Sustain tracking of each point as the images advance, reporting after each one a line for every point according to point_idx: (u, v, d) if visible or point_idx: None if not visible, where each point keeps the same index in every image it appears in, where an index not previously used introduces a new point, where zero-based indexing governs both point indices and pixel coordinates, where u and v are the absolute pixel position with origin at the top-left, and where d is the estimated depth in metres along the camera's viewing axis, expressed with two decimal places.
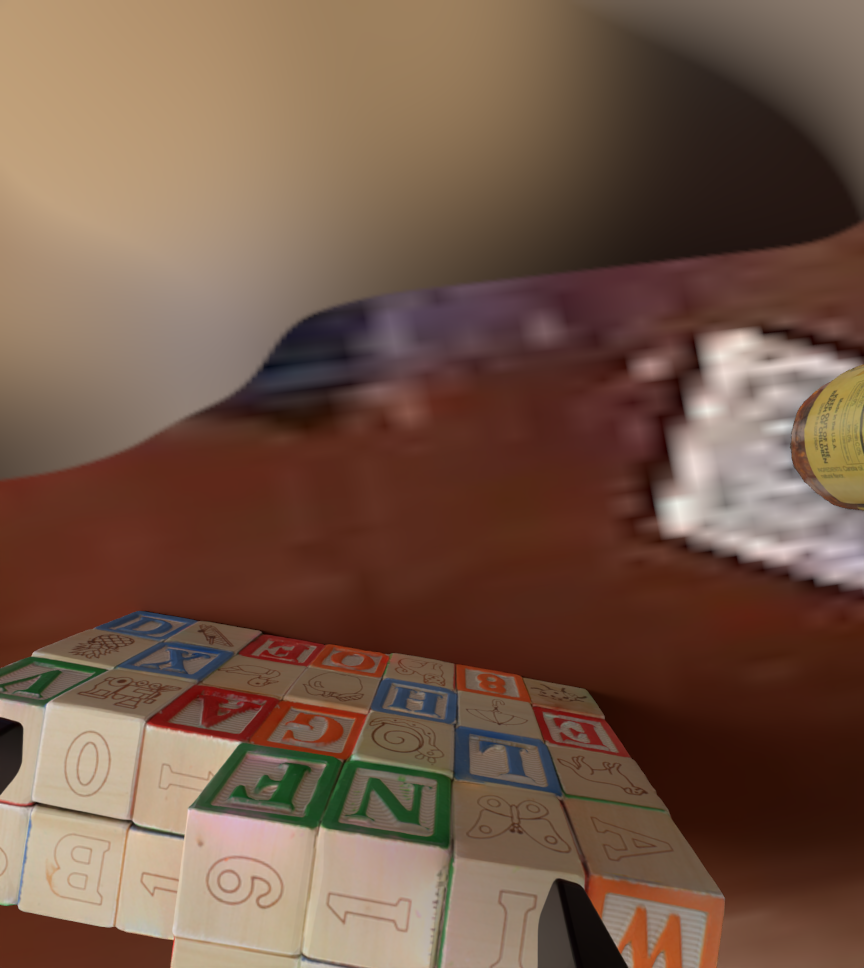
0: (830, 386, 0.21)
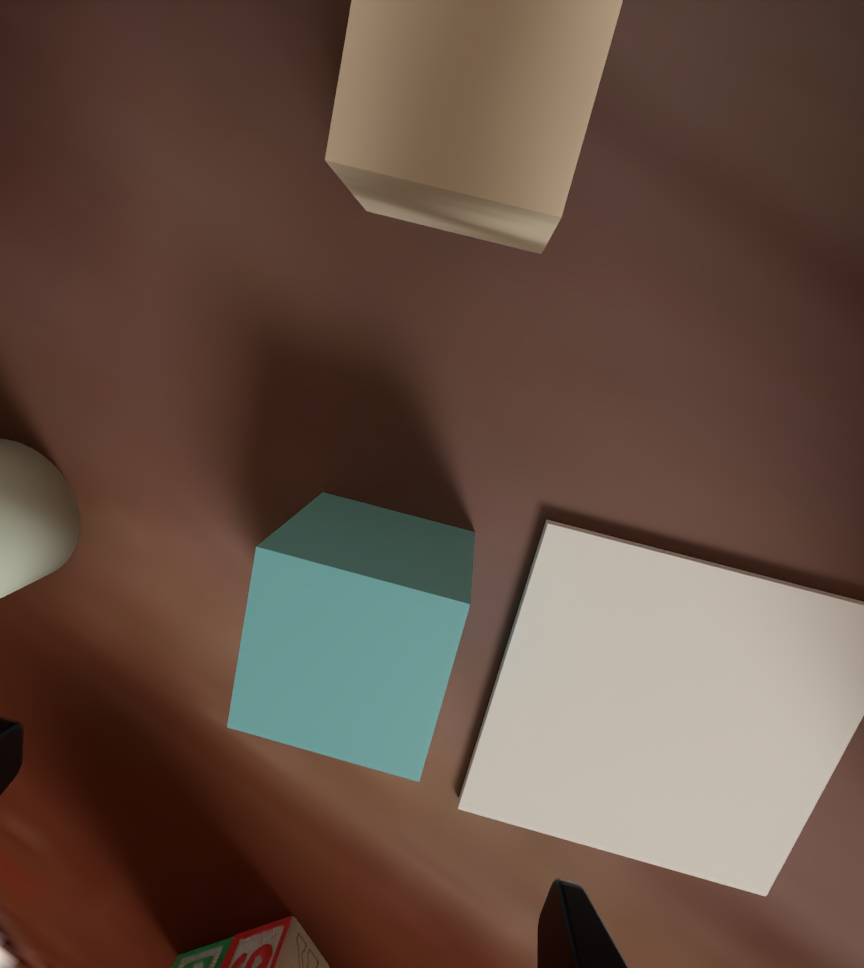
0: None
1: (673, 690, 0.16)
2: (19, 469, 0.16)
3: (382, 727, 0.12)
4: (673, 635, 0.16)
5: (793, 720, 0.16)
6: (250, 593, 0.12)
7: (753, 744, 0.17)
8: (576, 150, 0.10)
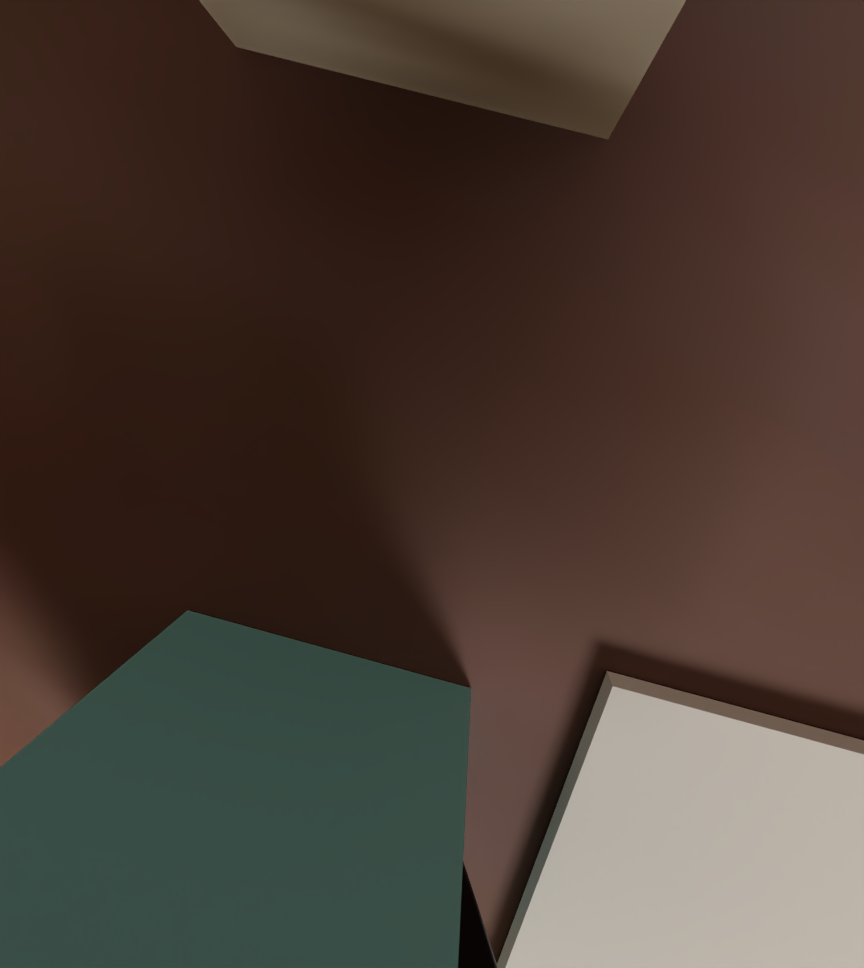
0: None
1: None
2: None
3: None
4: (850, 892, 0.08)
5: None
6: None
7: None
8: None
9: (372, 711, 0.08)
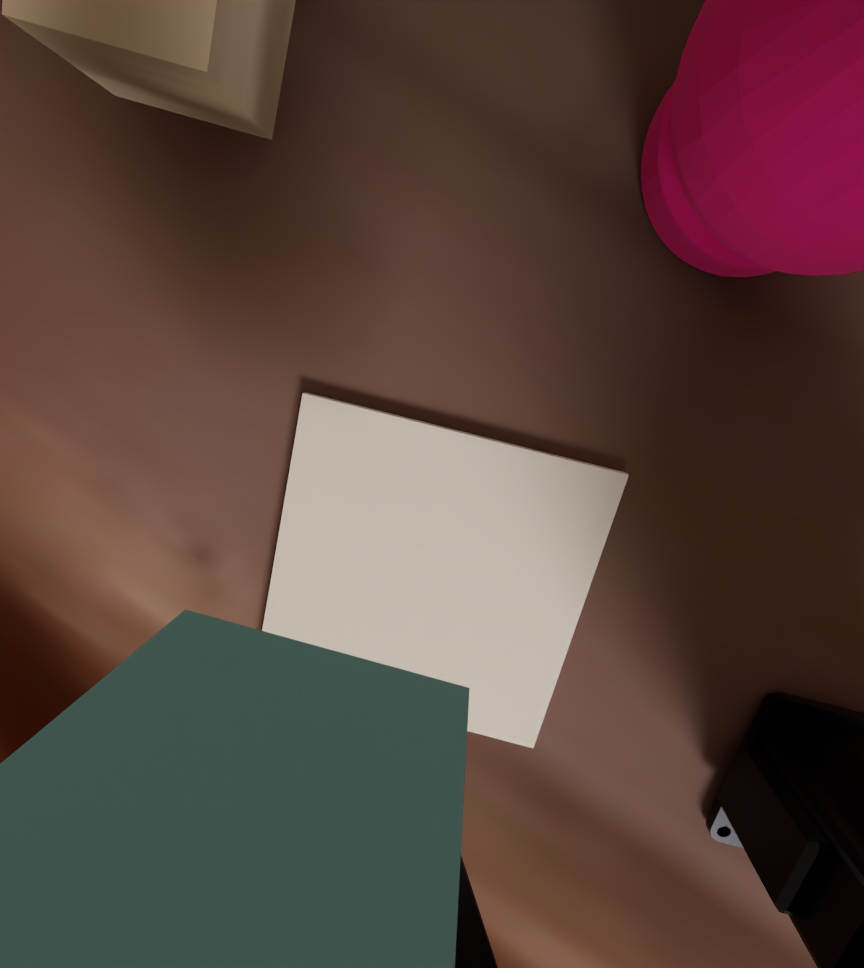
0: None
1: (429, 551, 0.18)
2: None
3: None
4: (423, 497, 0.18)
5: (536, 576, 0.18)
6: None
7: (505, 600, 0.18)
8: (211, 9, 0.12)
9: (370, 711, 0.08)
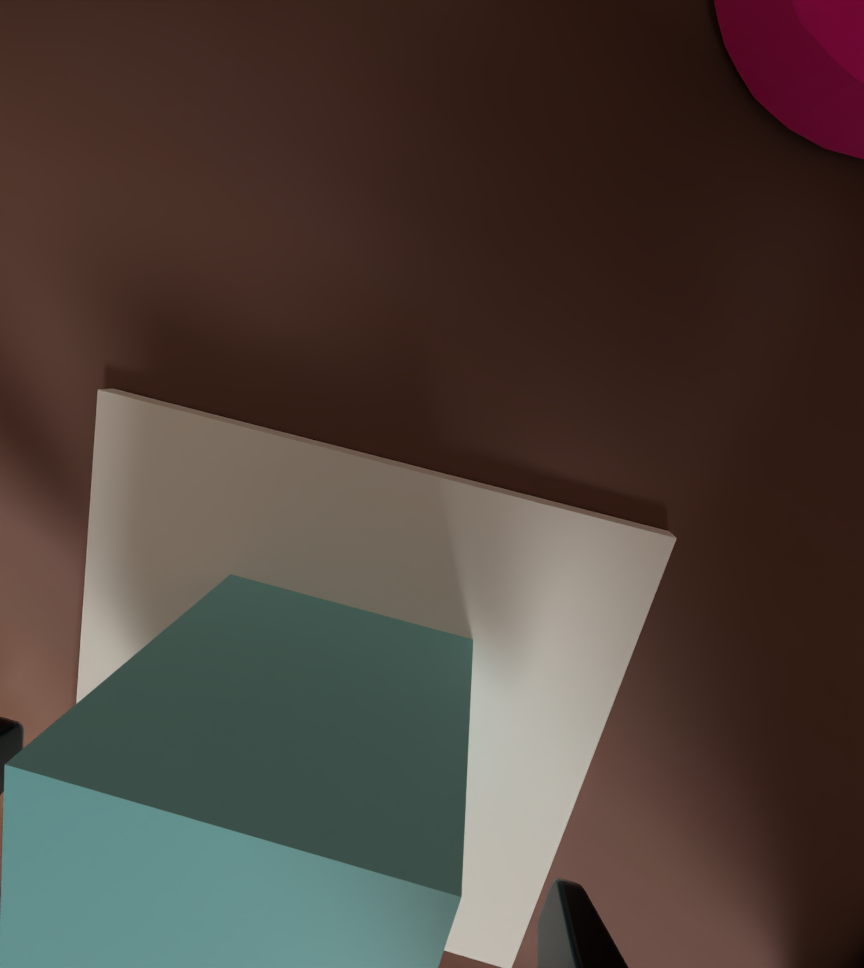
0: None
1: None
2: None
3: None
4: (315, 571, 0.10)
5: (512, 706, 0.10)
6: (6, 850, 0.06)
7: None
8: None
9: (391, 653, 0.09)
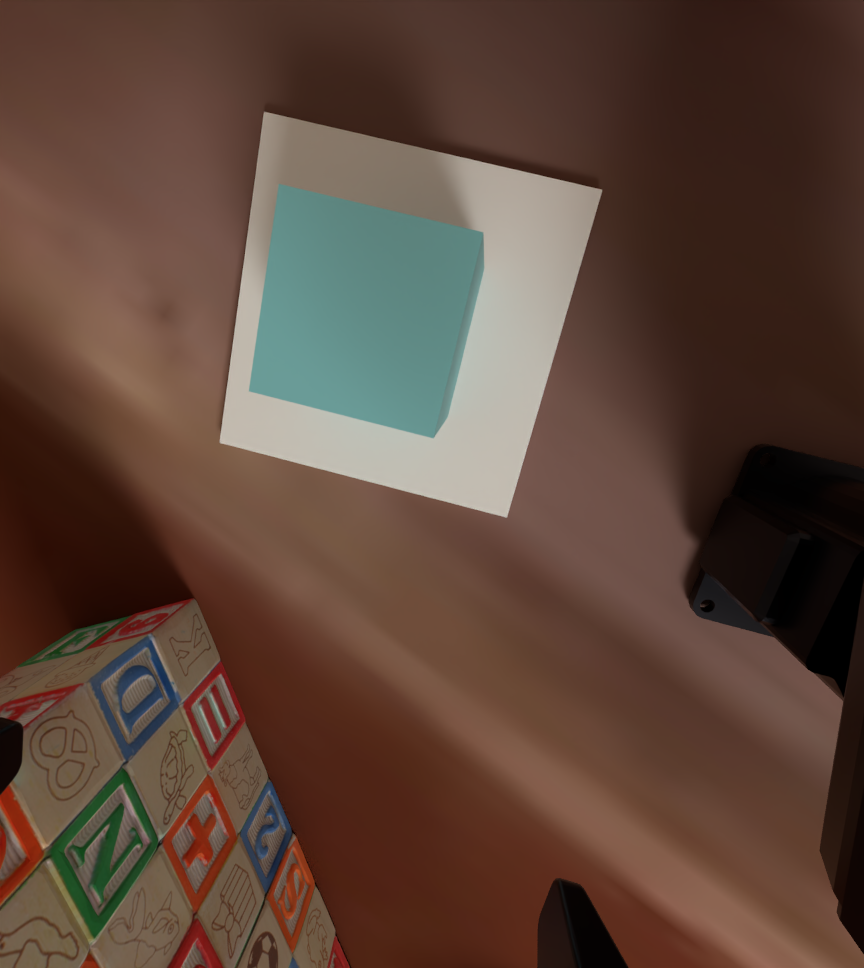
0: None
1: None
2: None
3: (398, 379, 0.13)
4: None
5: (507, 314, 0.17)
6: (272, 237, 0.13)
7: (475, 344, 0.17)
8: None
9: None
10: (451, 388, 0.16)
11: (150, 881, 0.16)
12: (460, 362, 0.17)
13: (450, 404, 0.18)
